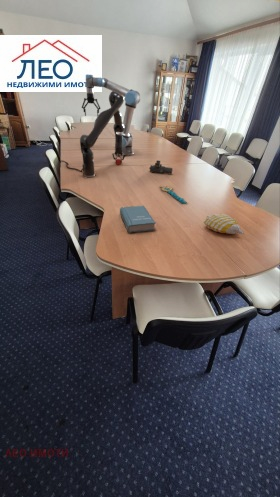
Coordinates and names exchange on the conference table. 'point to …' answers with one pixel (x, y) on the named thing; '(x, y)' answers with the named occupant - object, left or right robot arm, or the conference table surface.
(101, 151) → the conference table surface
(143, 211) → the book
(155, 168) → the laser sight
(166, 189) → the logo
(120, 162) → the block
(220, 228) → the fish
